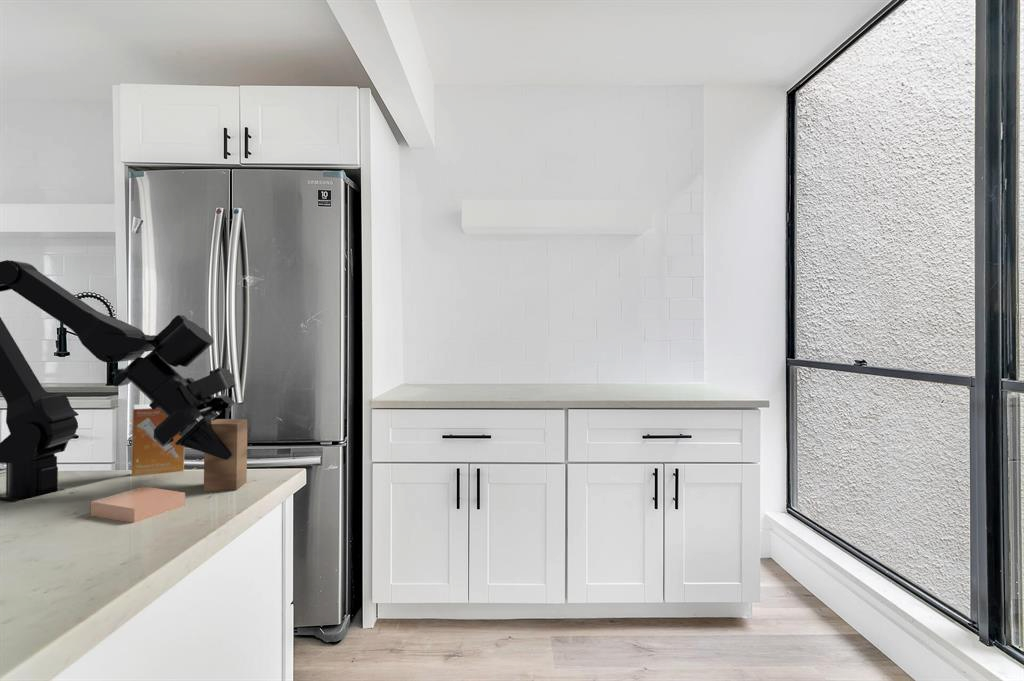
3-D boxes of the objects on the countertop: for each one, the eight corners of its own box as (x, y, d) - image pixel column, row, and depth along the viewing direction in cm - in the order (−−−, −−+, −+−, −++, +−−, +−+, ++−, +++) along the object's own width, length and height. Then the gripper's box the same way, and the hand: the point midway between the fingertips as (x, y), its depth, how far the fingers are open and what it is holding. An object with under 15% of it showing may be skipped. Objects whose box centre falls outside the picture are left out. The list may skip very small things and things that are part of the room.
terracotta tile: (90, 515, 80) (91, 501, 79) (143, 499, 87) (144, 486, 87) (134, 523, 77) (134, 508, 77) (184, 506, 85) (185, 492, 85)
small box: (131, 483, 100) (132, 408, 100) (131, 475, 105) (132, 404, 105) (184, 477, 104) (185, 406, 104) (182, 470, 110) (183, 402, 109)
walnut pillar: (203, 498, 92) (204, 424, 92) (215, 489, 97) (216, 419, 97) (236, 497, 93) (237, 424, 93) (246, 489, 98) (247, 419, 98)
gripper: (177, 355, 85) (254, 429, 87) (223, 350, 103) (286, 411, 105) (118, 408, 84) (198, 482, 86) (176, 393, 103) (240, 454, 104)
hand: (235, 453), depth 95 cm, fingers closed on walnut pillar, 5 cm apart
